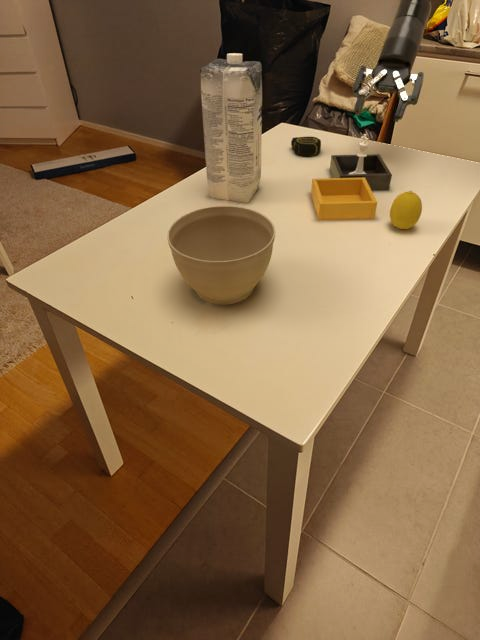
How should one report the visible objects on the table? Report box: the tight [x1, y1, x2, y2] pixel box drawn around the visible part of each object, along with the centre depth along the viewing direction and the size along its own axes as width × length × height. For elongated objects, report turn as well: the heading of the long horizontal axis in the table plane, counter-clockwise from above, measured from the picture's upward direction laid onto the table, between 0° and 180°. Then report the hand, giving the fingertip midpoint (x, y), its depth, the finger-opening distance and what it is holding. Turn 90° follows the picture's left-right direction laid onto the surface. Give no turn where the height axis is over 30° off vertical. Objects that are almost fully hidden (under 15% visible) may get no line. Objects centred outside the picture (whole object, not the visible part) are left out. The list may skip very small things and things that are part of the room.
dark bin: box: [329, 153, 393, 192], centre depth 103 cm, size 11×11×4 cm
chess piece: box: [349, 133, 369, 174], centre depth 101 cm, size 5×5×10 cm
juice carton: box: [199, 52, 263, 204], centre depth 92 cm, size 9×10×27 cm
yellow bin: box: [310, 177, 378, 221], centre depth 94 cm, size 11×11×4 cm
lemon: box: [389, 190, 423, 230], centre depth 86 cm, size 6×6×8 cm
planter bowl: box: [166, 205, 276, 305], centre depth 72 cm, size 16×16×11 cm
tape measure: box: [290, 136, 322, 157], centre depth 115 cm, size 7×7×4 cm
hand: (376, 117), depth 101 cm, fingers open, 8 cm apart
